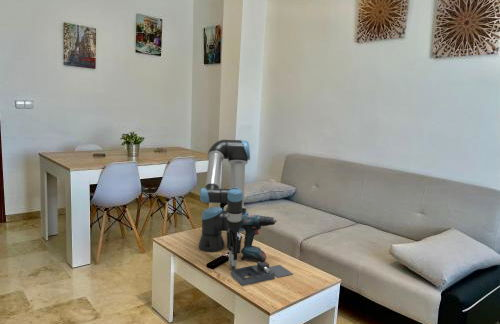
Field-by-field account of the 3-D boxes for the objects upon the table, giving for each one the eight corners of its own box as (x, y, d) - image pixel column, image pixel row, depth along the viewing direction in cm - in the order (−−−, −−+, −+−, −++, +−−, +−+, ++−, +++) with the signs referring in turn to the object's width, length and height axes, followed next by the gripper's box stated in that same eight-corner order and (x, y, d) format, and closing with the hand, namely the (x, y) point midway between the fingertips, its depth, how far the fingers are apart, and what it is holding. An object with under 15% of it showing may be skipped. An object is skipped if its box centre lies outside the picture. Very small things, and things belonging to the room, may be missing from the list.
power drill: (274, 264, 205) (276, 219, 201) (232, 259, 209) (233, 215, 206) (276, 258, 214) (278, 214, 210) (236, 253, 218) (237, 210, 214)
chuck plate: (230, 275, 190) (231, 264, 189) (262, 269, 199) (262, 258, 198) (242, 286, 180) (242, 274, 179) (274, 278, 189) (275, 267, 188)
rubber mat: (265, 268, 200) (265, 267, 200) (279, 265, 204) (279, 264, 204) (278, 277, 190) (278, 277, 189) (292, 274, 194) (293, 273, 194)
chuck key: (226, 267, 198) (226, 246, 196) (236, 265, 201) (237, 244, 199) (229, 270, 195) (229, 248, 193) (239, 268, 198) (240, 246, 196)
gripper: (221, 216, 198) (219, 259, 202) (234, 225, 185) (233, 271, 189) (234, 214, 202) (232, 256, 206) (248, 223, 188) (246, 268, 192)
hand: (232, 263), depth 197 cm, fingers closed on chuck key, 2 cm apart
